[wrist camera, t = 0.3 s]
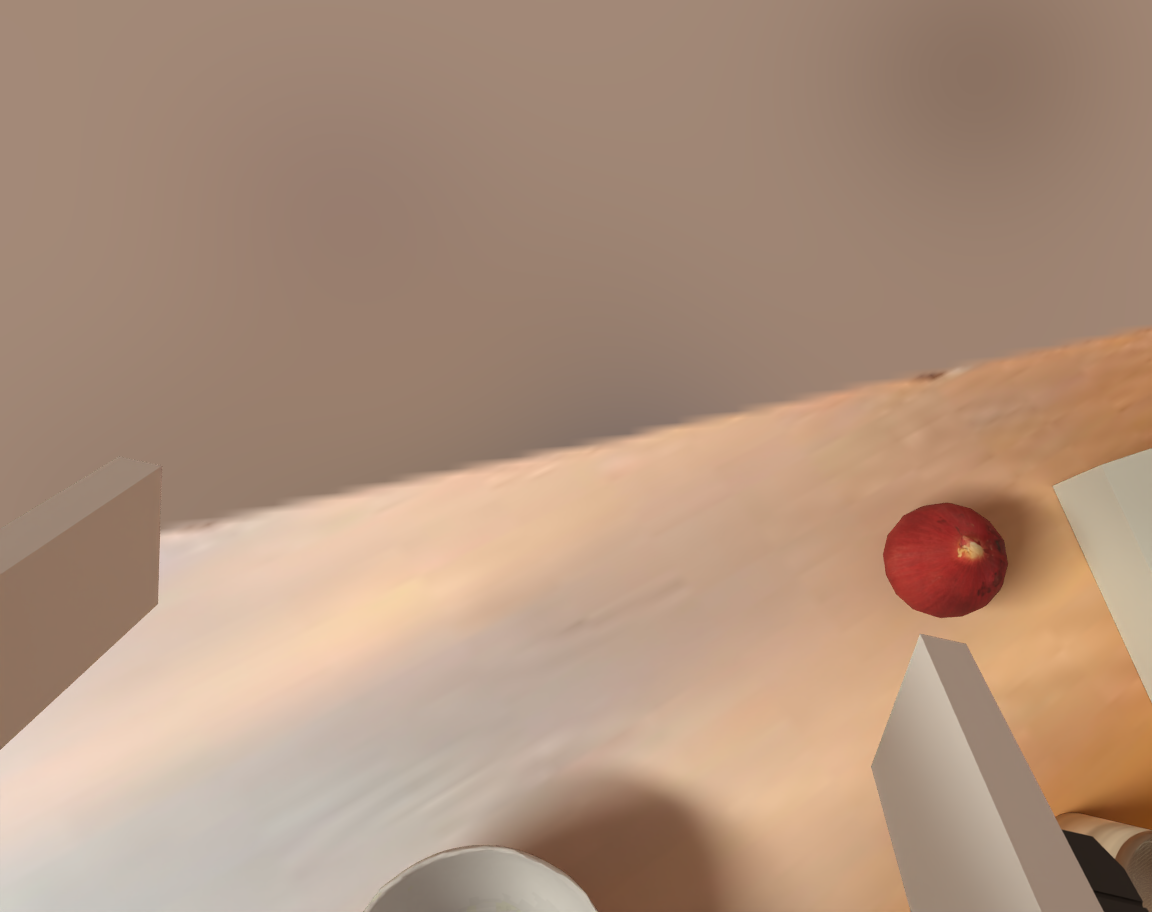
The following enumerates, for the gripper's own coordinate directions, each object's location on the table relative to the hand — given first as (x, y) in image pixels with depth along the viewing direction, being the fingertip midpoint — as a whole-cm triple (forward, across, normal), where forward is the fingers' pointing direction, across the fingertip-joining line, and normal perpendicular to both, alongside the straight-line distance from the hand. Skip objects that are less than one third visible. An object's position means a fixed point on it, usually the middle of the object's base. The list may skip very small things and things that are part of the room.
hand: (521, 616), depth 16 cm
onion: (+35, -18, +12) cm, 41 cm away
